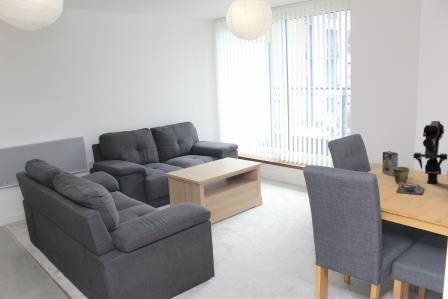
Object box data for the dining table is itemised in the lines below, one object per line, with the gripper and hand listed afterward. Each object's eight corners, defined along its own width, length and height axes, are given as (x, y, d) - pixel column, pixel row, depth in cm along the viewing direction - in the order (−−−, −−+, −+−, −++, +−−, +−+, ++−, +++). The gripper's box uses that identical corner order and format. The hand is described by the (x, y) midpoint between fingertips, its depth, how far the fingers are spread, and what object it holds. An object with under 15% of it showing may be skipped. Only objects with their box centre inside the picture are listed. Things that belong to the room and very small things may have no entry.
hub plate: (399, 186, 254) (399, 182, 253) (423, 188, 246) (423, 184, 246) (396, 192, 242) (396, 187, 242) (421, 194, 235) (421, 190, 234)
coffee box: (382, 172, 291) (382, 151, 289) (389, 171, 293) (389, 150, 290) (390, 175, 283) (390, 153, 280) (397, 174, 285) (398, 152, 282)
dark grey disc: (418, 187, 242) (419, 180, 241) (409, 189, 240) (409, 181, 239) (407, 184, 250) (407, 177, 250) (398, 185, 249) (398, 178, 248)
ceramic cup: (410, 184, 257) (411, 169, 255) (394, 184, 259) (394, 170, 257) (405, 179, 270) (406, 165, 268) (390, 179, 272) (390, 165, 270)
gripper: (412, 146, 242) (412, 171, 244) (447, 147, 232) (446, 173, 235) (414, 143, 251) (414, 167, 254) (447, 144, 241) (446, 169, 244)
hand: (429, 169), depth 246 cm, fingers open, 9 cm apart
